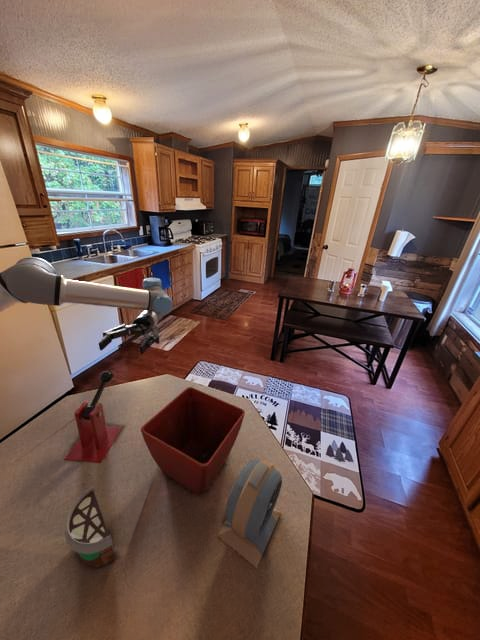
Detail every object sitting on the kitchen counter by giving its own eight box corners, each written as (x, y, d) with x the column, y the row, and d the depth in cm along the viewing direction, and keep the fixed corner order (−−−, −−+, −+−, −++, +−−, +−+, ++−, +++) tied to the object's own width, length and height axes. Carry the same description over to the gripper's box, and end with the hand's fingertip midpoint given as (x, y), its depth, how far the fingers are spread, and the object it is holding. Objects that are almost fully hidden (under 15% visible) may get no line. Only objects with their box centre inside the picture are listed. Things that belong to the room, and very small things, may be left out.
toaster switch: (90, 427, 79) (83, 391, 73) (122, 430, 79) (117, 394, 73) (64, 462, 68) (53, 423, 62) (101, 465, 68) (94, 427, 62)
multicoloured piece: (67, 533, 53) (57, 503, 49) (99, 513, 57) (92, 484, 53) (81, 596, 45) (71, 566, 41) (117, 567, 49) (111, 537, 45)
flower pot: (143, 476, 66) (138, 428, 59) (189, 427, 82) (189, 385, 75) (203, 517, 58) (205, 467, 52) (241, 455, 74) (246, 410, 67)
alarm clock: (254, 573, 50) (265, 519, 43) (214, 540, 54) (218, 486, 47) (282, 509, 61) (294, 458, 54) (247, 486, 66) (254, 436, 59)
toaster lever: (105, 374, 78) (101, 368, 76) (116, 375, 78) (113, 369, 76) (83, 420, 69) (77, 415, 66) (96, 421, 69) (91, 416, 66)
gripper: (176, 333, 104) (159, 361, 84) (116, 328, 104) (85, 355, 85) (175, 316, 101) (157, 341, 82) (114, 311, 101) (81, 335, 82)
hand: (120, 348), depth 83 cm, fingers open, 13 cm apart
